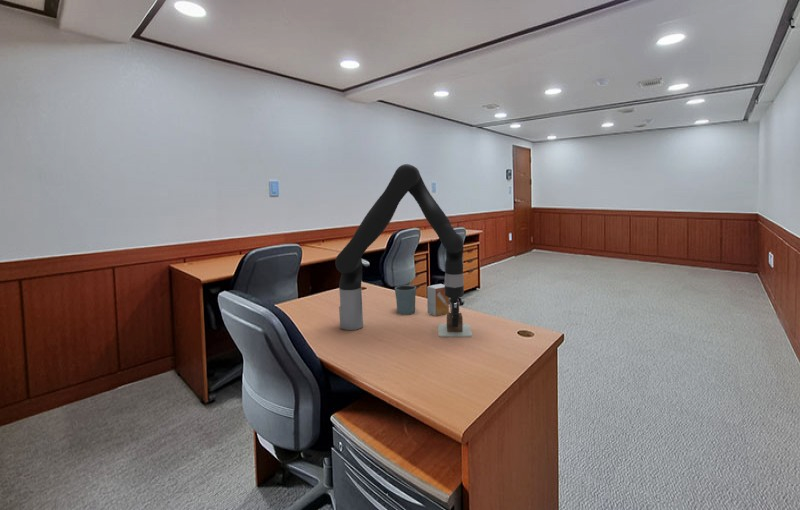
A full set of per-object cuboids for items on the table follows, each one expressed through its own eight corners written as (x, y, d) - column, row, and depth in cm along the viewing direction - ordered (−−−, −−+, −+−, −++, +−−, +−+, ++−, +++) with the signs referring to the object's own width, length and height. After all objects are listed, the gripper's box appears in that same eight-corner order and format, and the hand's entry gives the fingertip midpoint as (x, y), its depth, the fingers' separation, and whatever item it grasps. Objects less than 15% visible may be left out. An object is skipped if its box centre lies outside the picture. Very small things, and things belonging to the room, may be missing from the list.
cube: (447, 332, 151) (447, 317, 150) (446, 326, 157) (446, 312, 156) (462, 332, 151) (462, 317, 150) (461, 326, 156) (461, 312, 155)
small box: (435, 316, 172) (435, 288, 170) (427, 313, 177) (426, 286, 175) (449, 313, 176) (449, 285, 174) (440, 309, 182) (440, 283, 180)
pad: (438, 336, 148) (438, 335, 148) (438, 325, 161) (437, 324, 161) (472, 336, 147) (472, 335, 147) (468, 325, 160) (468, 323, 160)
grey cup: (402, 316, 173) (401, 291, 172) (391, 311, 182) (390, 286, 180) (420, 312, 178) (420, 287, 177) (409, 307, 187) (408, 283, 185)
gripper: (444, 280, 158) (444, 317, 161) (445, 288, 144) (445, 329, 147) (462, 279, 157) (462, 317, 160) (465, 288, 143) (465, 329, 146)
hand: (454, 323), depth 153 cm, fingers open, 8 cm apart
